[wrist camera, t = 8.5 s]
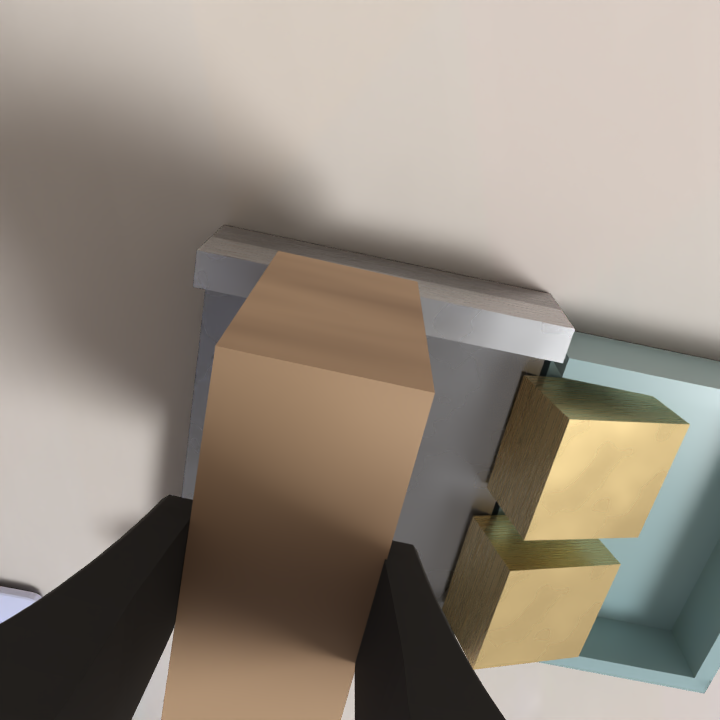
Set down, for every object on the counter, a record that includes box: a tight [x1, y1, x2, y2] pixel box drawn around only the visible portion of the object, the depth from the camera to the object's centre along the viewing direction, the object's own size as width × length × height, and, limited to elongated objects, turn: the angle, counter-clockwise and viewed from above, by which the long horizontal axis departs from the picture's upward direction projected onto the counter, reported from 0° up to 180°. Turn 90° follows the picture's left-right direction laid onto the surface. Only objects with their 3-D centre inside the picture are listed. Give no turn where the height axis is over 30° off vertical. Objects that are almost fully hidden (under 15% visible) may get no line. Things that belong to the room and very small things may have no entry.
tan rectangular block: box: [161, 251, 435, 720], centre depth 15 cm, size 8×4×6 cm, turn 168°
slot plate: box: [174, 225, 575, 636], centre depth 21 cm, size 13×10×3 cm
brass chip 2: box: [442, 515, 621, 669], centre depth 22 cm, size 4×4×2 cm
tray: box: [491, 331, 720, 693], centre depth 22 cm, size 11×8×2 cm
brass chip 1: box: [486, 375, 690, 541], centre depth 20 cm, size 4×4×2 cm
